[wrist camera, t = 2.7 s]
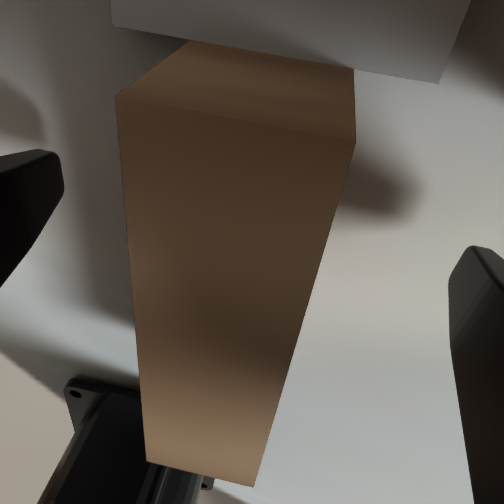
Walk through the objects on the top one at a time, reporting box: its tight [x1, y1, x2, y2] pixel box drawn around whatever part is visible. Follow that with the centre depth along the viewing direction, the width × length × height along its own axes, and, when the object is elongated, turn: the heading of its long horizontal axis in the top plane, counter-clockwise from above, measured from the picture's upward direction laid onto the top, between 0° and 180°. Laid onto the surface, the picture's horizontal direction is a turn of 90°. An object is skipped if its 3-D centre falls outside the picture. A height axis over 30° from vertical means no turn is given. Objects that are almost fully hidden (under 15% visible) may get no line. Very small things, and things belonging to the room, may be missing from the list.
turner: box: [110, 0, 471, 487], centre depth 8 cm, size 16×6×4 cm, turn 173°
